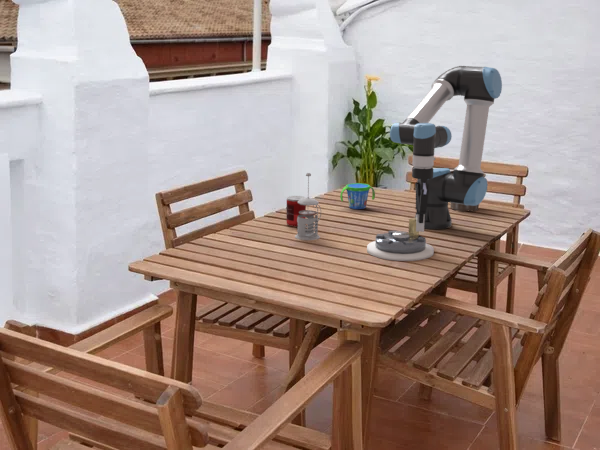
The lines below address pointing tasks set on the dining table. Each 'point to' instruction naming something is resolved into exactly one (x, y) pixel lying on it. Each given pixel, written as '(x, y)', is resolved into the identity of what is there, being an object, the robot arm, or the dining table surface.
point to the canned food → (294, 210)
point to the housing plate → (400, 257)
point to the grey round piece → (401, 240)
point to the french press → (309, 232)
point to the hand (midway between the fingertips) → (419, 231)
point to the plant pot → (464, 207)
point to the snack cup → (357, 195)
